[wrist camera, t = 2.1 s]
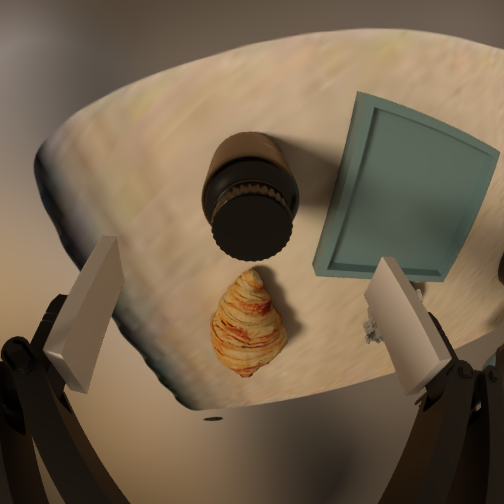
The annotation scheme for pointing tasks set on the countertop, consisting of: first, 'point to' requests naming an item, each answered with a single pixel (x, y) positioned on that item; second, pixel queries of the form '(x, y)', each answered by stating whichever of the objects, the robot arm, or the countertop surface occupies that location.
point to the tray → (402, 194)
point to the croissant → (247, 326)
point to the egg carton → (372, 328)
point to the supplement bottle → (250, 197)
